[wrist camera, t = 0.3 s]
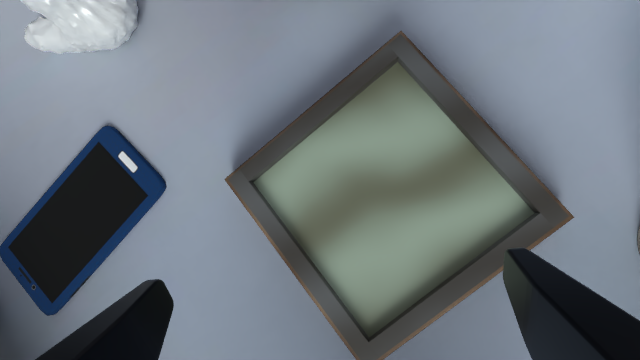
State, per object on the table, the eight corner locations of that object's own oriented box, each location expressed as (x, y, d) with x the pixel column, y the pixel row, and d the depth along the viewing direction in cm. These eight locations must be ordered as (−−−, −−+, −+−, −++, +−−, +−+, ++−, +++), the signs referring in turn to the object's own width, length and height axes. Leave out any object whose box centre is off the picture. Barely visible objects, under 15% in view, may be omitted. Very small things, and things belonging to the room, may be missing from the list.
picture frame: (561, 216, 22) (583, 217, 19) (366, 362, 23) (364, 380, 21) (400, 41, 24) (401, 22, 22) (233, 181, 26) (217, 178, 23)
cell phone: (173, 186, 27) (167, 185, 26) (55, 318, 28) (46, 321, 27) (113, 123, 28) (106, 120, 28) (3, 250, 29) (-7, 251, 28)
